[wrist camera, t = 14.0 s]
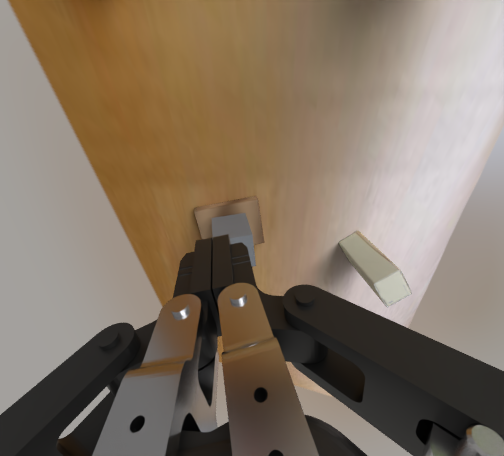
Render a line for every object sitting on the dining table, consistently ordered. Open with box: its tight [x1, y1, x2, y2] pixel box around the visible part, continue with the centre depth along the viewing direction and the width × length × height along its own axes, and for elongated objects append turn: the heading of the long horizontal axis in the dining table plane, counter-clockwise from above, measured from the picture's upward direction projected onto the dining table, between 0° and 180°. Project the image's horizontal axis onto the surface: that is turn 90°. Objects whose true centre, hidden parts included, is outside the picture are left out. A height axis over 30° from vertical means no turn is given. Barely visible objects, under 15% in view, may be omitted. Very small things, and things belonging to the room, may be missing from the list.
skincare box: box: [339, 231, 412, 307], centre depth 41 cm, size 6×4×12 cm
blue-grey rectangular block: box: [212, 213, 256, 266], centre depth 36 cm, size 5×5×7 cm
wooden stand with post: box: [194, 196, 264, 245], centre depth 37 cm, size 10×8×9 cm
